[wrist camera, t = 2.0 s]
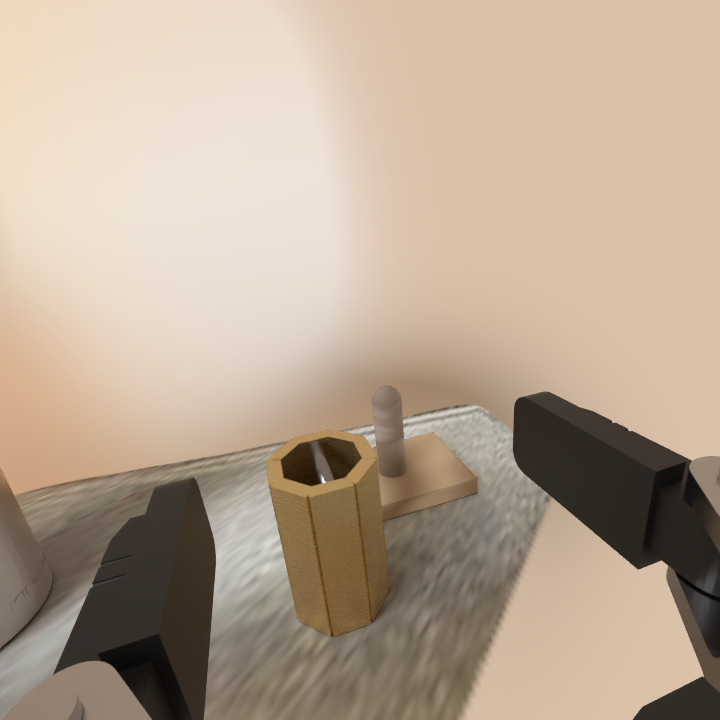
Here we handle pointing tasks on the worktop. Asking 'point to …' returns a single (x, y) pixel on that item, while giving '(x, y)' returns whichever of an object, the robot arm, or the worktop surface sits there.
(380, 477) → the shaft base
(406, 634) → the worktop surface
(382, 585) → the sleeve
